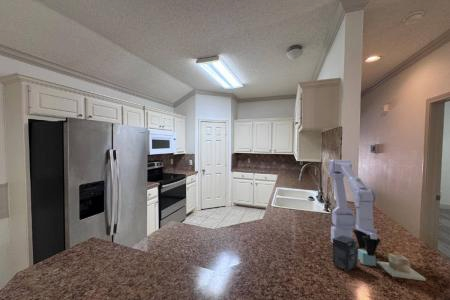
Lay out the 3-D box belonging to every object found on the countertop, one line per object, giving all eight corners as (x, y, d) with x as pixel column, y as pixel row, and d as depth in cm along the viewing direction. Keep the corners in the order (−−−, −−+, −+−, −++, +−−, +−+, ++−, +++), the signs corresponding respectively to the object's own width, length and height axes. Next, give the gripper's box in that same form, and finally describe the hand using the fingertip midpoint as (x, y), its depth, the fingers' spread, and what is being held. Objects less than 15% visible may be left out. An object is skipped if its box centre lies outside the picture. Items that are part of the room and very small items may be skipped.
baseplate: (392, 276, 69) (391, 274, 69) (377, 263, 79) (377, 261, 79) (425, 280, 67) (425, 278, 67) (406, 266, 77) (406, 264, 77)
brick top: (363, 264, 78) (362, 253, 78) (358, 259, 82) (357, 248, 83) (375, 266, 77) (375, 254, 77) (370, 261, 81) (369, 250, 81)
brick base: (396, 271, 71) (395, 258, 72) (389, 265, 76) (388, 253, 76) (410, 273, 70) (409, 260, 71) (402, 267, 75) (401, 255, 75)
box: (348, 272, 71) (347, 242, 73) (332, 265, 76) (332, 238, 77) (357, 266, 76) (356, 239, 77) (342, 260, 80) (341, 234, 82)
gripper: (385, 223, 73) (387, 260, 72) (367, 215, 87) (368, 246, 86) (364, 221, 75) (366, 258, 73) (349, 213, 89) (351, 244, 87)
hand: (366, 251), depth 80 cm, fingers open, 7 cm apart
